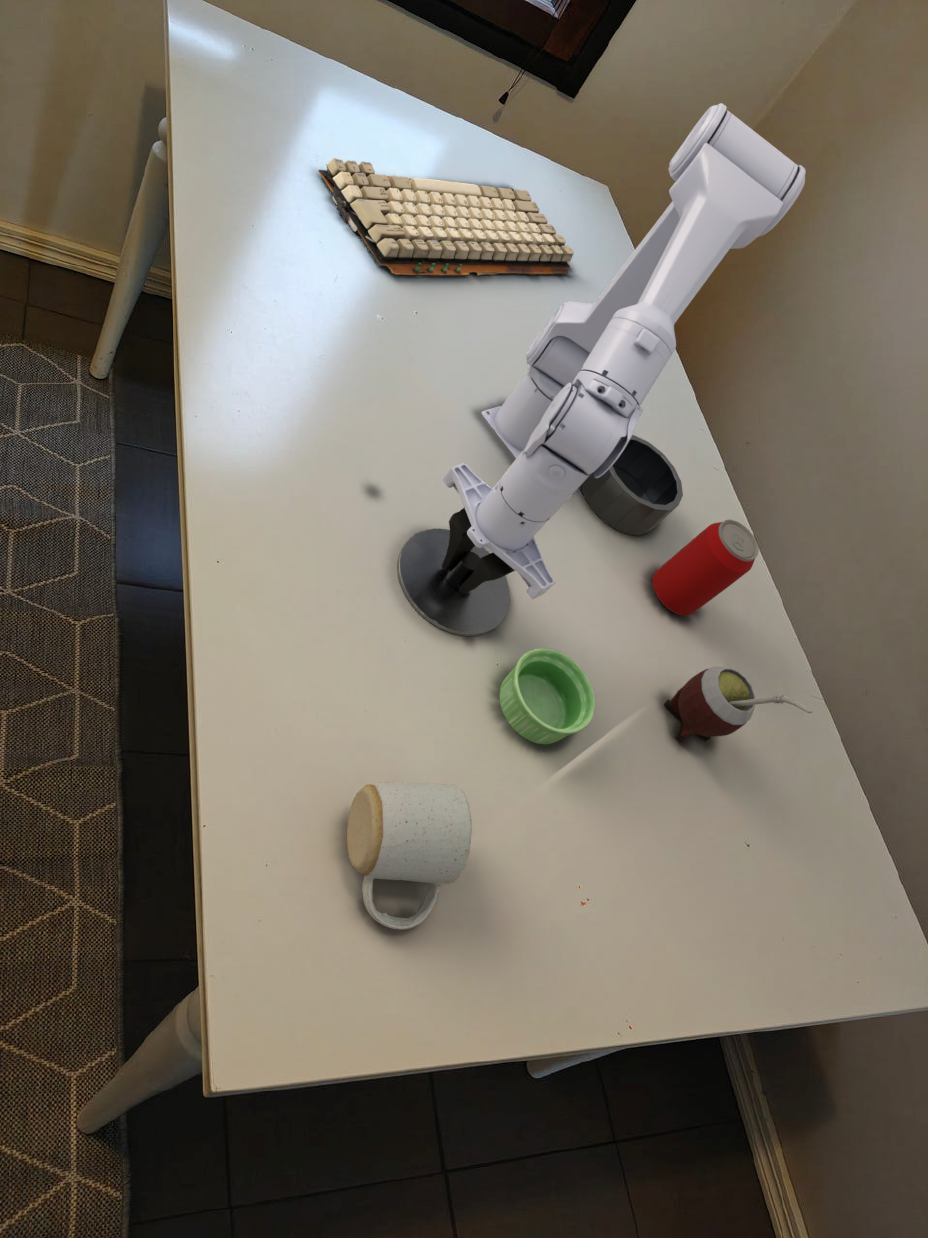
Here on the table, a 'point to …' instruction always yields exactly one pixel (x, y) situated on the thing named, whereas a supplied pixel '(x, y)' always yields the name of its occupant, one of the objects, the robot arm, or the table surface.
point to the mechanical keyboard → (445, 224)
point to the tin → (635, 489)
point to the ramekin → (547, 696)
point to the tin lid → (450, 586)
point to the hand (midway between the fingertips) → (458, 576)
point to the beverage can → (705, 567)
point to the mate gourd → (717, 703)
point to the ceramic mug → (408, 839)
